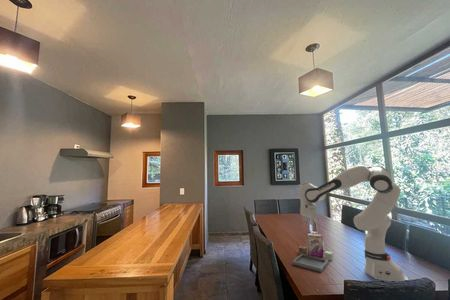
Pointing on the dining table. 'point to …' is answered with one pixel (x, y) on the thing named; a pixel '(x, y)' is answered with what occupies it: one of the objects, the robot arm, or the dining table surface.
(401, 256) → the dining table surface
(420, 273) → the dining table surface
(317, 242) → the candy bar box
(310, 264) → the tray
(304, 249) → the walnut cube
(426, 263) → the dining table surface
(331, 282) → the dining table surface
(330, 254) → the sage cube
